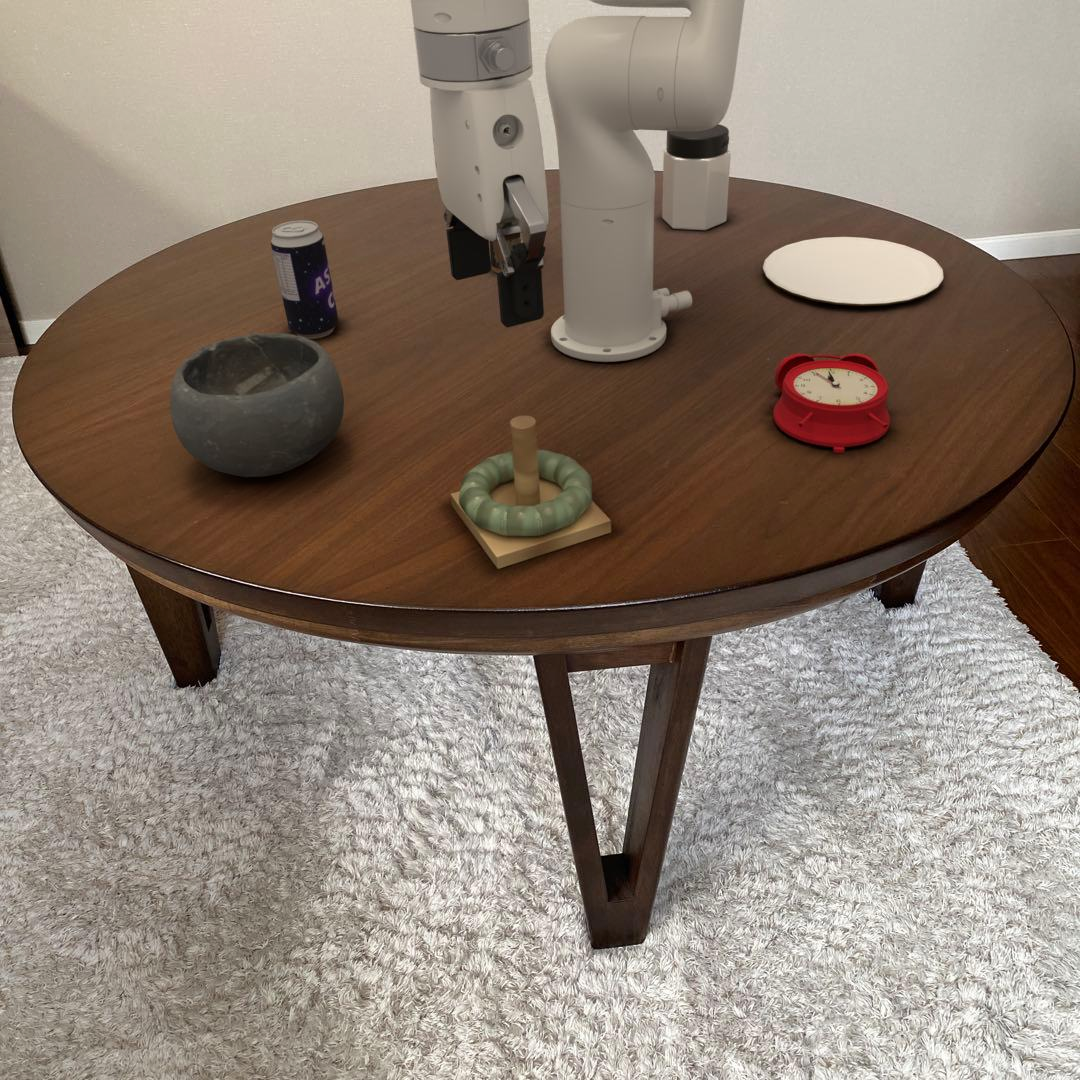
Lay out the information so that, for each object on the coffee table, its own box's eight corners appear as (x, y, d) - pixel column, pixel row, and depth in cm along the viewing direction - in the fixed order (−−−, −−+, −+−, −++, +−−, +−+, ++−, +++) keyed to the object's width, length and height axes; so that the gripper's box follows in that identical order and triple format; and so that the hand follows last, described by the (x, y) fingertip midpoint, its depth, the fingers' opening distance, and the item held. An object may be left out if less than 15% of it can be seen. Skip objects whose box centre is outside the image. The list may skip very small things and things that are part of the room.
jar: (734, 227, 136) (740, 135, 129) (676, 234, 134) (679, 142, 127) (710, 207, 143) (715, 118, 136) (655, 213, 142) (657, 125, 134)
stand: (557, 473, 88) (552, 380, 83) (611, 532, 81) (610, 433, 75) (451, 505, 85) (439, 410, 79) (497, 569, 78) (488, 469, 72)
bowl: (159, 464, 93) (127, 367, 87) (295, 405, 101) (275, 312, 95) (243, 527, 84) (214, 423, 78) (385, 456, 92) (369, 357, 86)
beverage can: (329, 342, 112) (309, 237, 105) (282, 340, 113) (259, 236, 106) (347, 321, 117) (329, 219, 110) (301, 319, 118) (280, 218, 111)
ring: (554, 455, 88) (553, 432, 87) (616, 516, 80) (616, 491, 79) (441, 490, 85) (438, 466, 83) (494, 557, 77) (492, 532, 75)
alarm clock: (783, 420, 86) (772, 314, 96) (775, 471, 91) (765, 365, 101) (908, 421, 85) (884, 313, 95) (893, 473, 90) (871, 365, 100)
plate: (981, 290, 115) (983, 280, 114) (827, 326, 109) (829, 315, 109) (869, 235, 131) (870, 225, 130) (730, 263, 125) (730, 254, 125)
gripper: (586, 69, 60) (592, 329, 71) (476, 23, 73) (496, 250, 83) (471, 89, 58) (495, 355, 69) (379, 38, 71) (411, 270, 81)
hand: (496, 297), depth 76 cm, fingers open, 9 cm apart
